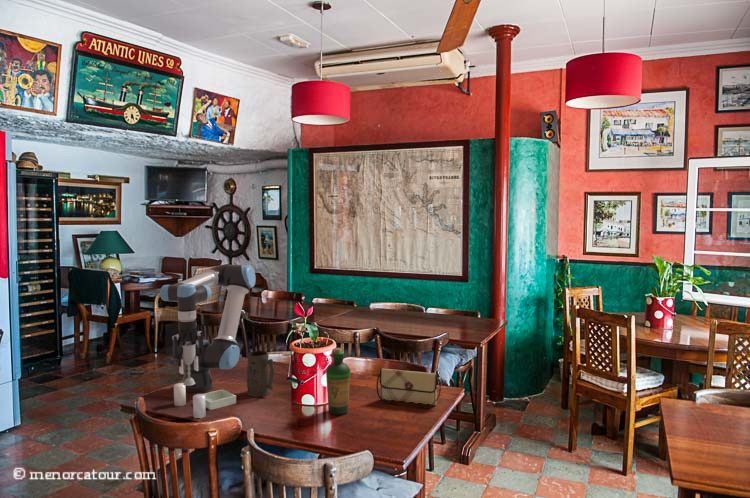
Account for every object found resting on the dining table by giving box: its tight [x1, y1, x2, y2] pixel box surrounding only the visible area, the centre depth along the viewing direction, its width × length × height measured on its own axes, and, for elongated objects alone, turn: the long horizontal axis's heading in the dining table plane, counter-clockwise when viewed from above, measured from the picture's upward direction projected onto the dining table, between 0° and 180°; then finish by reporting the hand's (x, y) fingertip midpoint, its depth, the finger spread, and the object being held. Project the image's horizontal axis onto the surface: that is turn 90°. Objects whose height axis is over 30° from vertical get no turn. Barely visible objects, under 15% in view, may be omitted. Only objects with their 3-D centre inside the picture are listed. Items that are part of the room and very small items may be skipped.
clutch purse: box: [376, 367, 442, 409], centre depth 248 cm, size 30×7×15 cm, turn 72°
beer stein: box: [246, 350, 275, 398], centre depth 262 cm, size 15×11×20 cm
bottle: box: [325, 347, 351, 416], centre depth 238 cm, size 11×11×28 cm
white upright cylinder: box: [173, 382, 187, 407], centre depth 248 cm, size 5×5×9 cm
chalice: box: [179, 341, 196, 386], centre depth 240 cm, size 7×7×18 cm
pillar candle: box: [192, 393, 207, 419], centre depth 234 cm, size 5×5×9 cm
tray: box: [204, 388, 237, 411], centre depth 250 cm, size 13×13×4 cm
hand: (188, 371), depth 240 cm, fingers closed on chalice, 6 cm apart
